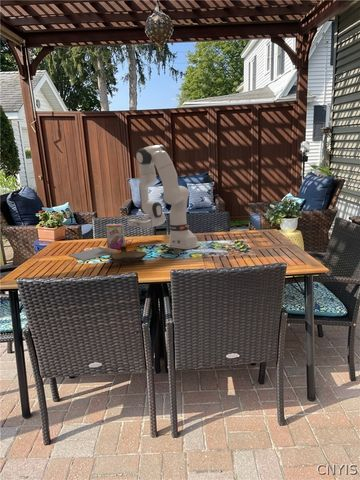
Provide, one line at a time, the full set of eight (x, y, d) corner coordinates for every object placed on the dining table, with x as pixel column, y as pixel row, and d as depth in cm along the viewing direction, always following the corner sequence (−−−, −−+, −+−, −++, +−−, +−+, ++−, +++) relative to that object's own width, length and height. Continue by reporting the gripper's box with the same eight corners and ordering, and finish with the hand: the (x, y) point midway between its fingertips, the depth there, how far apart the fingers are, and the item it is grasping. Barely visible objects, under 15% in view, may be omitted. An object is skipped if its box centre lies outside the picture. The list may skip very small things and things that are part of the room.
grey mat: (117, 252, 235) (117, 250, 235) (83, 260, 220) (83, 258, 219) (101, 247, 250) (101, 245, 250) (68, 255, 234) (68, 253, 234)
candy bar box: (107, 249, 245) (105, 225, 241) (109, 247, 250) (107, 224, 246) (123, 249, 244) (121, 224, 240) (125, 247, 248) (123, 223, 245)
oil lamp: (103, 269, 200) (102, 256, 199) (116, 255, 230) (114, 243, 228) (143, 268, 199) (142, 254, 197) (151, 253, 228) (150, 241, 226)
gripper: (136, 216, 267) (121, 219, 258) (154, 218, 252) (138, 221, 243) (137, 224, 269) (121, 227, 260) (155, 227, 254) (138, 231, 245)
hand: (129, 224), depth 251 cm, fingers closed
